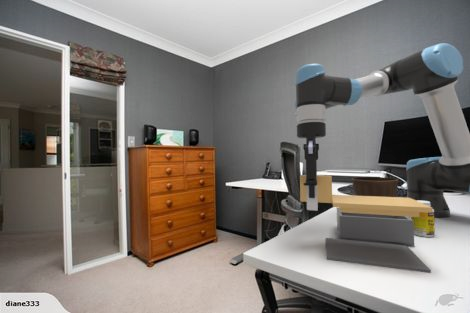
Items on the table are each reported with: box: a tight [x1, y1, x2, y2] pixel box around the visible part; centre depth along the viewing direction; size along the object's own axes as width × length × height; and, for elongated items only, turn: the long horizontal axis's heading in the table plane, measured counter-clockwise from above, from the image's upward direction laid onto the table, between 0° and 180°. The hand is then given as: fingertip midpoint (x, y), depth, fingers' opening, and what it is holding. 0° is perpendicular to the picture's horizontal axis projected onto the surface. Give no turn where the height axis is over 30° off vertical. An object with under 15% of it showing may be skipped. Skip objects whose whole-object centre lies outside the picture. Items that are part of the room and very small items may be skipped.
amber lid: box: [299, 174, 433, 218], centre depth 58 cm, size 27×13×8 cm, turn 69°
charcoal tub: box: [336, 207, 415, 248], centre depth 69 cm, size 18×12×7 cm, turn 69°
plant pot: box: [351, 176, 399, 197], centre depth 85 cm, size 15×15×16 cm
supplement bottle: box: [410, 200, 436, 238], centre depth 69 cm, size 6×6×10 cm
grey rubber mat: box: [325, 237, 432, 274], centre depth 56 cm, size 20×14×1 cm
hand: (312, 208), depth 61 cm, fingers closed on amber lid, 3 cm apart
